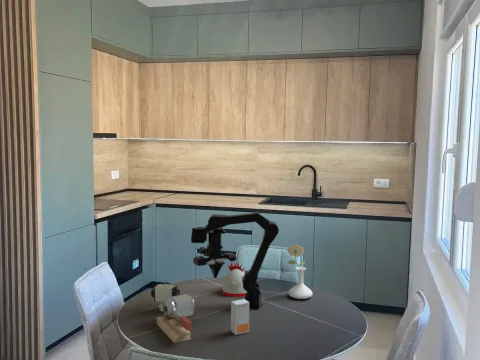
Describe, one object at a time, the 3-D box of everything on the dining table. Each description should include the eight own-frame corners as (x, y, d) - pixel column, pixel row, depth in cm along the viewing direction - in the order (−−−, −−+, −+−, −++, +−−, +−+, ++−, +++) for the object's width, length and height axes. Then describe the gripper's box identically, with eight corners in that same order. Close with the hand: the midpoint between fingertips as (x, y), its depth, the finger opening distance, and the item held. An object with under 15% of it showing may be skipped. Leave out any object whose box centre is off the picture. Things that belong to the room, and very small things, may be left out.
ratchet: (185, 310, 187) (185, 292, 186) (209, 331, 166) (209, 312, 165) (161, 315, 182) (161, 296, 181) (183, 337, 161) (183, 317, 160)
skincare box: (235, 335, 169) (235, 304, 168) (230, 331, 173) (230, 301, 172) (249, 332, 172) (249, 302, 171) (244, 328, 176) (244, 298, 175)
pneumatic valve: (176, 313, 190) (176, 286, 189) (151, 311, 193) (150, 284, 192) (181, 309, 196) (180, 282, 195) (156, 306, 198) (156, 280, 197)
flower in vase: (316, 295, 213) (317, 244, 211) (306, 302, 203) (306, 248, 201) (292, 290, 220) (292, 240, 218) (281, 297, 211) (281, 245, 209)
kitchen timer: (225, 287, 226) (225, 258, 224) (252, 288, 224) (252, 259, 222) (220, 296, 212) (220, 265, 211) (248, 297, 210) (248, 266, 209)
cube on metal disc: (188, 309, 187) (188, 293, 187) (194, 314, 181) (194, 298, 181) (171, 312, 183) (170, 296, 183) (176, 318, 178) (176, 301, 177)
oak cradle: (173, 320, 183) (172, 308, 183) (191, 339, 166) (191, 325, 165) (156, 323, 180) (156, 311, 179) (174, 343, 162) (174, 329, 162)
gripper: (225, 237, 208) (225, 270, 209) (188, 241, 199) (188, 276, 200) (236, 242, 198) (236, 276, 200) (198, 247, 189) (198, 282, 191)
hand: (215, 277), depth 198 cm, fingers closed
